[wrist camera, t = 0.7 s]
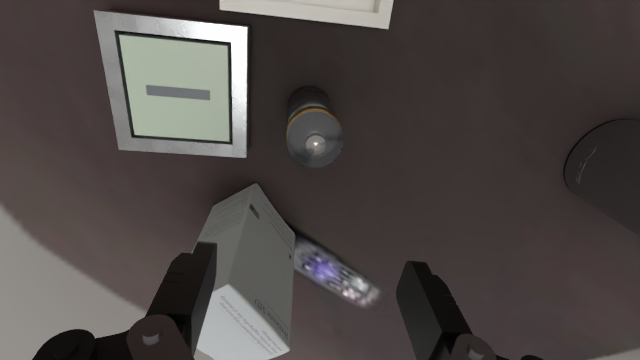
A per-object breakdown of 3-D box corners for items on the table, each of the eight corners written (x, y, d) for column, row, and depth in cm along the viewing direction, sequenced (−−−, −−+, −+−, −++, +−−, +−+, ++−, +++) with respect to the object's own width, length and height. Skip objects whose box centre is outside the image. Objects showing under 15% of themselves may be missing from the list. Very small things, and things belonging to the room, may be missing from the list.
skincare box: (296, 233, 38) (299, 353, 25) (252, 255, 39) (232, 381, 26) (253, 177, 35) (231, 284, 22) (206, 204, 36) (157, 321, 23)
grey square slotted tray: (250, 25, 28) (246, 27, 26) (249, 147, 33) (246, 157, 31) (109, 9, 27) (93, 10, 24) (130, 139, 32) (119, 149, 30)
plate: (230, 43, 28) (227, 46, 26) (231, 135, 31) (229, 141, 30) (127, 33, 27) (118, 35, 25) (141, 129, 30) (134, 135, 29)
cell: (333, 87, 31) (349, 119, 22) (327, 129, 33) (341, 173, 24) (288, 83, 30) (288, 114, 22) (285, 126, 32) (284, 170, 24)
